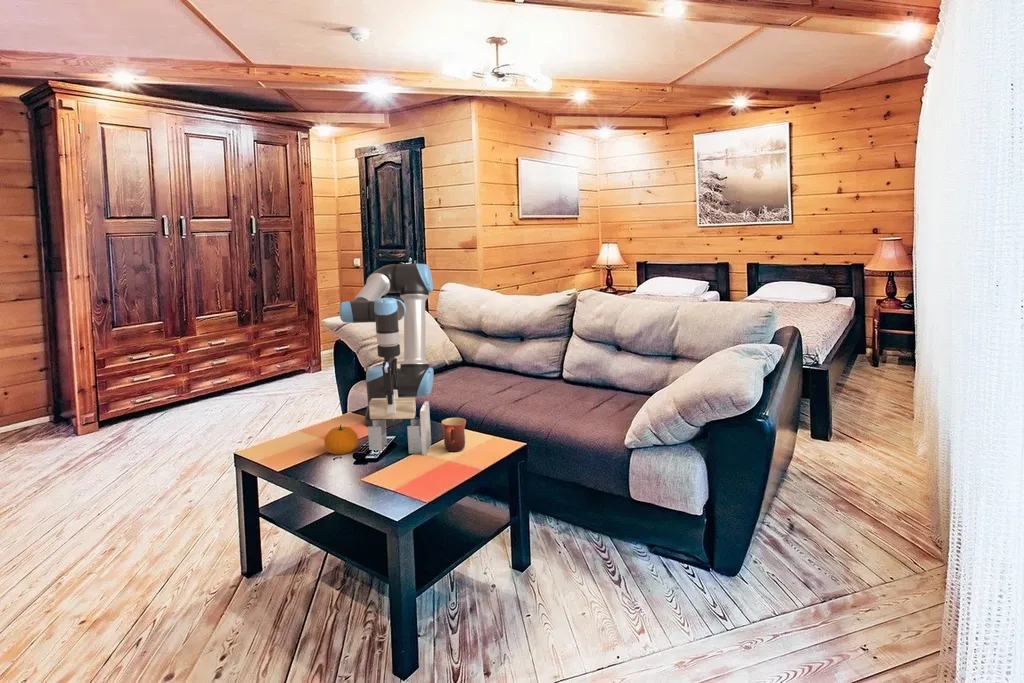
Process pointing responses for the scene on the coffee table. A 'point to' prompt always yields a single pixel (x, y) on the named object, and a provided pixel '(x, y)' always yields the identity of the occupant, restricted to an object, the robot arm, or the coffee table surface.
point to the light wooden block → (402, 406)
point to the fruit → (341, 440)
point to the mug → (454, 434)
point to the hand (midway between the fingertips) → (393, 410)
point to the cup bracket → (420, 432)
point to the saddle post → (377, 435)
